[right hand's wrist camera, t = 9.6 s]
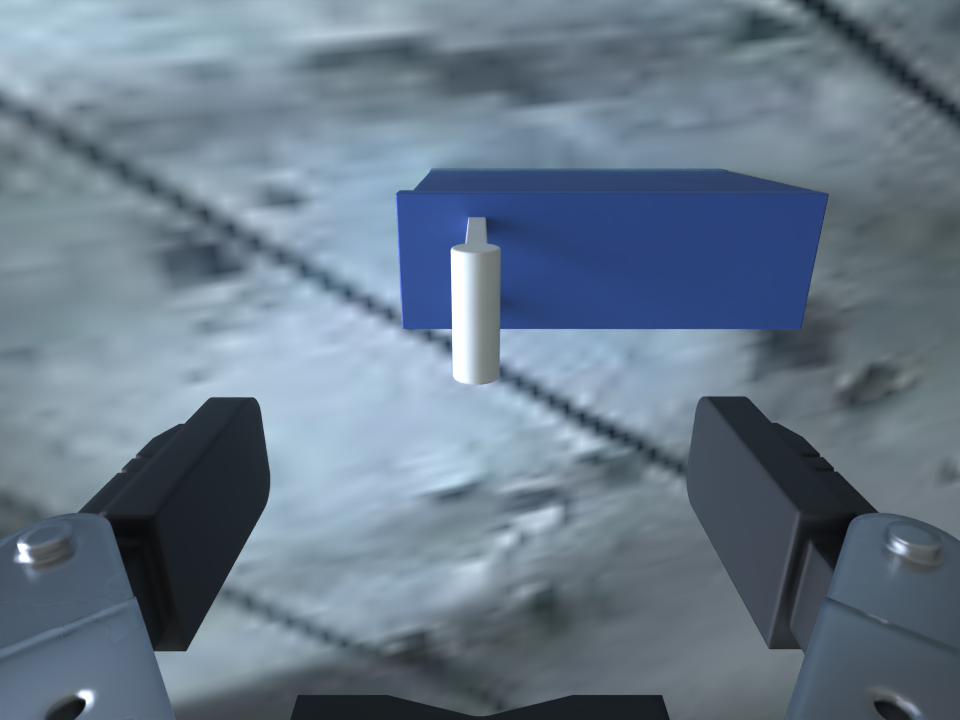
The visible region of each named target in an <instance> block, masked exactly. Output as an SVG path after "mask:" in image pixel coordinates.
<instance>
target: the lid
mask: <svg viewBox="0 0 960 720" xmlns="http://www.w3.org/2000/svg"><path fill="white" fill-rule="evenodd" d="M827 200H828V194H827V193H823V192H819V191H809V190H400V191H398V192H397V193H396V214H397V234H398V254H399V274H400V294H401V314H402V328H403V329H452V336H453V376H454V378H455V379H456V380H457V381H459V382H461V383H465V384H471V385H481V384H488V383H491V382H493V381H495V380H497V379H498V377H499V358H500V329H801V326H802V321H803V316H804V311H805V306H806V301H807V296H808V292H809V287H810V282H811V277H812V272H813V267H814V263H815V258H816V253H817V248H818V243H819V238H820V234H821V229H822V224H823V219H824V214H825V209H826V205H827Z"/></svg>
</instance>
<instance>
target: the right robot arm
mask: <svg viewBox="0 0 960 720" xmlns="http://www.w3.org/2000/svg"><path fill="white" fill-rule="evenodd" d="M269 491H270V470H269V463H268V456H267V450H266V443H265V436H264V430H263V423H262V416H261V410H260V406H259V404H258V402H257V400H256V399H255V398H253V397H212V398H209V399H208V400H207V401H206V402H205V403H204V404H203V405H202V406H201V407H200V408H199V409H198V410H197V411H196V412H195V413H194V414H193V416H192V417H191V418H190V419H189V420H188V421H187V422H186V423H185V424H178V425H176V426H175V427H173V428H171V429H169V430H167V431H166V432H164V433H162V434H160V435H158V436H156V437H155V438H153V439H152V440H151V441H150V442H149V443H148V444H147V445H146V446H145V447H144V448H143V449H142V450H141V451H140V452H139V453H138V454H137V455H136V459H132V460H131V461H130V462H129V463H128V464H127V465H125V466H124V467H123V468H122V472H121V473H117V474H116V475H115V476H114V477H113V478H112V479H111V480H110V481H109V482H108V483H107V484H106V485H105V486H104V487H103V488H102V489H101V490H100V491H99V492H98V493H97V494H96V495H95V496H94V497H93V498H92V499H91V500H90V501H89V502H88V503H87V504H86V505H85V506H84V507H83V508H82V509H81V510H80V511H79V512H78V513H72V514H64V515H59V516H54V517H51V518H47V519H44V520H41V521H38V522H35V523H33V524H30V525H28V526H25V527H23V528H21V529H19V530H17V531H15V532H13V533H12V534H10V535H9V536H7V537H5V538H4V539H2V540H1V541H0V720H176V719H175V716H174V713H173V710H172V707H171V703H170V700H169V697H168V694H167V691H166V688H165V685H164V682H163V679H162V676H161V673H160V669H159V666H158V663H157V660H156V657H155V654H154V651H187V649H188V647H189V645H190V643H191V642H192V640H193V638H194V636H195V634H196V632H197V631H198V629H199V627H200V625H201V623H202V621H203V620H204V618H205V616H206V614H207V612H208V611H209V609H210V607H211V605H212V603H213V601H214V600H215V598H216V596H217V594H218V592H219V591H220V589H221V587H222V585H223V583H224V581H225V580H226V578H227V576H228V574H229V572H230V570H231V569H232V567H233V565H234V563H235V561H236V560H237V558H238V556H239V554H240V552H241V550H242V549H243V547H244V545H245V543H246V541H247V539H248V538H249V536H250V534H251V532H252V530H253V529H254V527H255V525H256V523H257V521H258V519H259V518H260V516H261V514H262V512H263V510H264V508H265V506H266V504H267V501H268V497H269ZM687 491H688V496H689V500H690V503H691V506H692V508H693V510H694V511H695V513H696V515H697V517H698V519H699V521H700V523H701V524H702V526H703V528H704V530H705V532H706V534H707V535H708V537H709V539H710V541H711V543H712V545H713V547H714V548H715V550H716V552H717V554H718V556H719V558H720V559H721V561H722V563H723V565H724V567H725V569H726V571H727V572H728V574H729V576H730V578H731V580H732V582H733V583H734V585H735V587H736V589H737V591H738V593H739V594H740V596H741V598H742V600H743V602H744V604H745V606H746V607H747V609H748V611H749V613H750V615H751V617H752V618H753V620H754V622H755V624H756V626H757V628H758V630H759V631H760V633H761V635H762V637H763V639H764V641H765V642H766V644H767V646H768V648H769V649H802V650H803V652H804V654H805V657H804V660H803V663H802V666H801V669H800V673H799V676H798V679H797V682H796V685H795V688H794V691H793V694H792V697H791V700H790V703H789V707H788V710H787V713H786V716H785V719H784V720H960V541H959V540H958V539H956V538H955V537H953V536H951V535H950V534H948V533H947V532H945V531H943V530H941V529H939V528H937V527H935V526H932V525H930V524H927V523H925V522H922V521H919V520H916V519H913V518H909V517H906V516H901V515H896V514H888V513H879V512H878V511H877V510H876V509H875V508H874V507H873V506H871V505H870V504H869V503H868V502H867V501H866V500H865V499H864V498H863V497H862V496H861V495H860V494H859V493H858V492H857V491H856V490H855V489H854V488H853V487H852V486H851V485H850V484H849V483H848V482H847V481H846V480H845V479H844V478H843V477H842V476H841V475H840V474H839V473H838V472H834V468H833V467H832V466H831V465H830V464H829V463H828V462H827V461H826V460H825V459H824V458H823V457H820V454H819V453H818V452H817V451H816V450H815V449H814V448H813V447H812V446H811V445H810V444H809V443H808V442H807V441H806V440H805V439H804V438H803V437H802V436H800V435H798V434H796V433H794V432H792V431H791V430H789V429H787V428H785V427H783V426H782V425H780V424H778V423H771V422H770V421H769V420H768V419H767V418H766V417H765V416H764V414H763V413H762V412H761V411H760V410H759V409H758V408H757V407H756V406H755V405H754V404H753V403H752V402H751V401H750V400H749V399H748V398H747V397H702V398H701V399H700V400H699V402H698V404H697V408H696V413H695V420H694V427H693V434H692V441H691V447H690V454H689V461H688V468H687ZM290 720H670V719H669V716H668V713H667V709H666V706H665V703H664V700H663V697H662V695H571V696H567V697H563V698H559V699H555V700H551V701H547V702H543V703H539V704H535V705H530V706H526V707H522V708H518V709H514V710H510V711H506V712H502V713H498V714H494V715H490V716H470V715H466V714H462V713H458V712H454V711H450V710H446V709H442V708H438V707H434V706H430V705H425V704H421V703H417V702H413V701H409V700H405V699H401V698H397V697H393V696H389V695H298V697H297V700H296V703H295V706H294V709H293V713H292V716H291V719H290Z"/></svg>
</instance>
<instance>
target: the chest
mask: <svg viewBox="0 0 960 720" xmlns="http://www.w3.org/2000/svg"><path fill="white" fill-rule="evenodd" d="M414 190H809V189H805V188H800V187H796V186H792V185H787V184H783V183H778V182H774V181H769V180H765V179H760V178H756V177H751V176H747V175H743V174H738V173H734V172H729V171H727V170H723V169H431V170H430V172H429V173H428V175H427V176H426V177H425V178H424V179H423V180H422V181H421V182H420V183H419V184H418V186H417V187H416V188H415V189H414ZM809 191H813V190H809Z"/></svg>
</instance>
